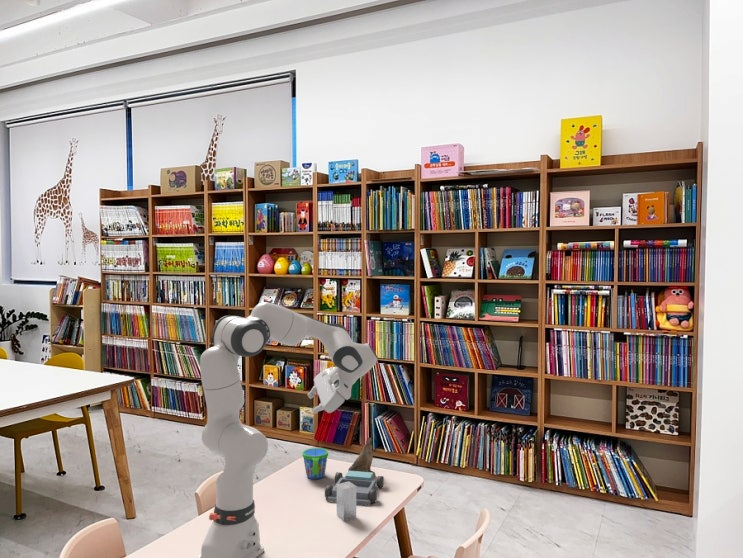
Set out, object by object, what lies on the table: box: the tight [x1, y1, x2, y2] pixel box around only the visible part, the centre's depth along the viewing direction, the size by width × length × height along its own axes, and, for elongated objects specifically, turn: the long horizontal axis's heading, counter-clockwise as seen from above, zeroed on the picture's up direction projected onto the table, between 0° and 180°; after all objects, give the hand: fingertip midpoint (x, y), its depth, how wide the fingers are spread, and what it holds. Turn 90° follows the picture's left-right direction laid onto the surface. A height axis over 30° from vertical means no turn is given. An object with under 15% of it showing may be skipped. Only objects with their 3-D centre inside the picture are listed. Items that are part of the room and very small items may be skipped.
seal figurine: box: [347, 437, 376, 478], centre depth 228 cm, size 12×6×18 cm, turn 52°
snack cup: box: [302, 447, 329, 480], centre depth 227 cm, size 16×11×10 cm
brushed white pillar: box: [336, 481, 357, 522], centre depth 191 cm, size 5×5×11 cm
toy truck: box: [324, 470, 385, 506], centre depth 211 cm, size 20×19×4 cm
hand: (310, 404), depth 197 cm, fingers open, 8 cm apart
